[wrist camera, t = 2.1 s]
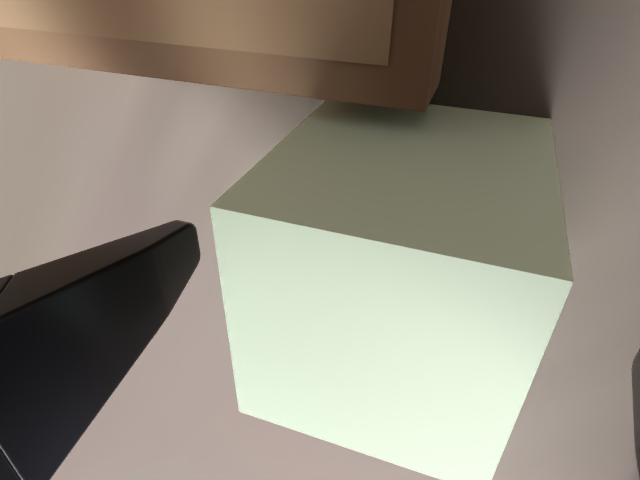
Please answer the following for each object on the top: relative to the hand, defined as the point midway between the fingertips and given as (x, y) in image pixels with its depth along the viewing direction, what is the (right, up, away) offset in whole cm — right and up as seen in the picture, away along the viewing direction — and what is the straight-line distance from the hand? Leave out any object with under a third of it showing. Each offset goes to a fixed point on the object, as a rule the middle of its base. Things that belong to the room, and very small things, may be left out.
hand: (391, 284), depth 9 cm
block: (+1, +2, +3) cm, 4 cm away
